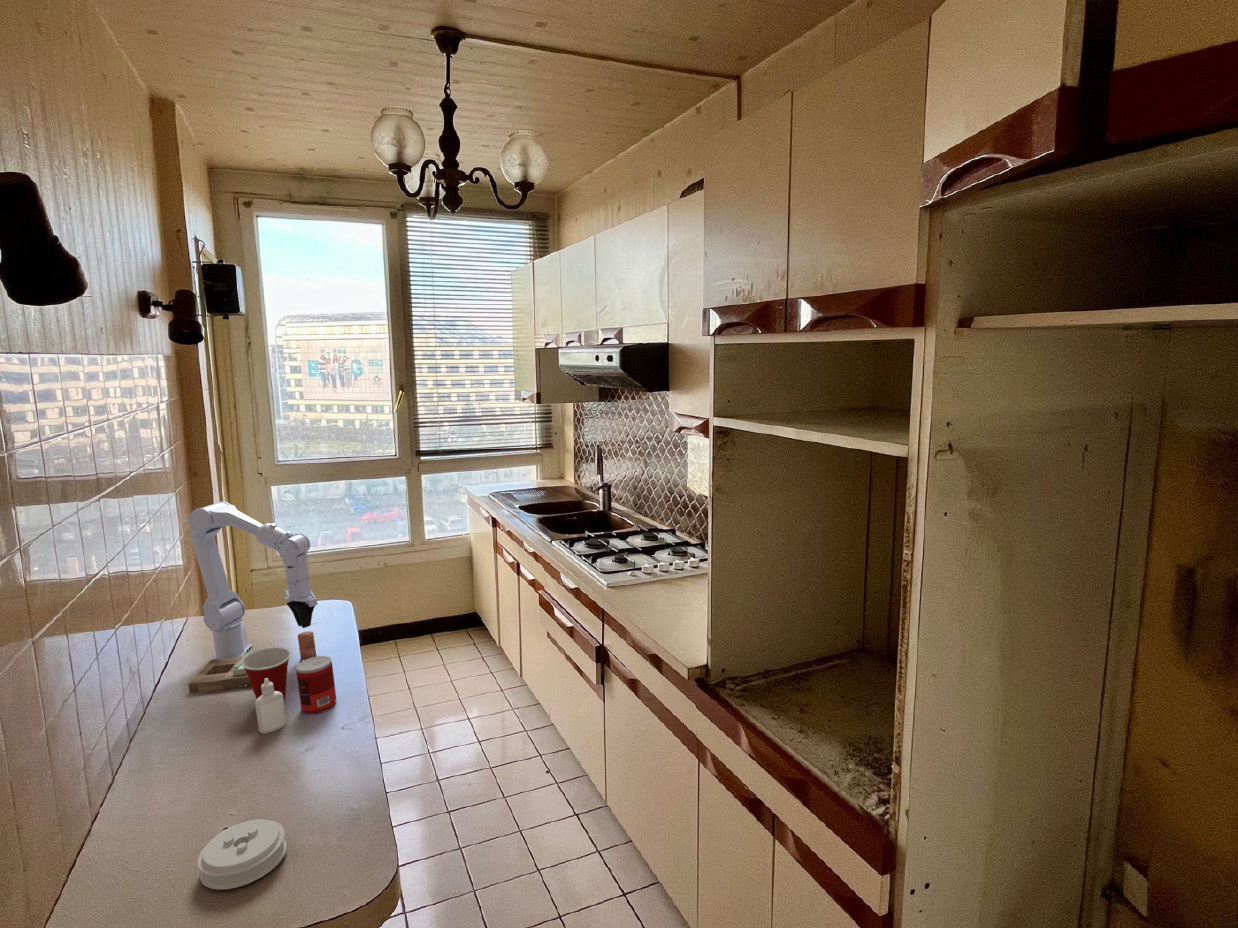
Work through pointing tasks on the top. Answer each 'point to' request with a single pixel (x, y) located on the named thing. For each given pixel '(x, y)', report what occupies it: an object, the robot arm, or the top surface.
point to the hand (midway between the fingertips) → (304, 625)
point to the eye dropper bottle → (270, 709)
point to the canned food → (316, 684)
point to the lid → (242, 854)
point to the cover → (240, 667)
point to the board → (218, 676)
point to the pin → (306, 645)
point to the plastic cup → (267, 668)
